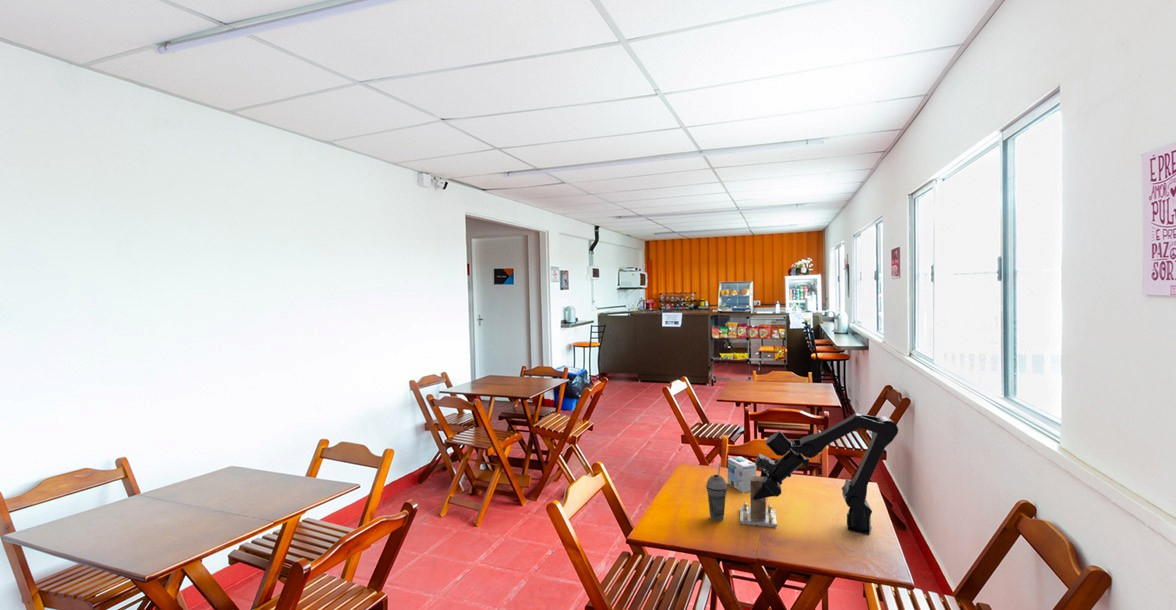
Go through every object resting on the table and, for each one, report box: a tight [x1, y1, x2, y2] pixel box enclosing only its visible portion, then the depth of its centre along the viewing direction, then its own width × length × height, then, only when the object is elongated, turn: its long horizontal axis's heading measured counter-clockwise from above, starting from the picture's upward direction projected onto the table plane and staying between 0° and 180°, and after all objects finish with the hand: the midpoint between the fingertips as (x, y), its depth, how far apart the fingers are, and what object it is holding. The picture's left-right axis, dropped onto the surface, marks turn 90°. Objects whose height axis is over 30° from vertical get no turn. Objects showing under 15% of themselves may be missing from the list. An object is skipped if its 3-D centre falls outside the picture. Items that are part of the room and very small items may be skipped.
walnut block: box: [749, 475, 767, 519], centre depth 188 cm, size 5×5×13 cm
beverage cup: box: [706, 463, 728, 522], centre depth 188 cm, size 7×7×20 cm
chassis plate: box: [739, 502, 778, 528], centre depth 188 cm, size 12×12×3 cm
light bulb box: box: [727, 456, 757, 493], centre depth 216 cm, size 11×7×11 cm, turn 21°
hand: (753, 493), depth 188 cm, fingers open, 9 cm apart
